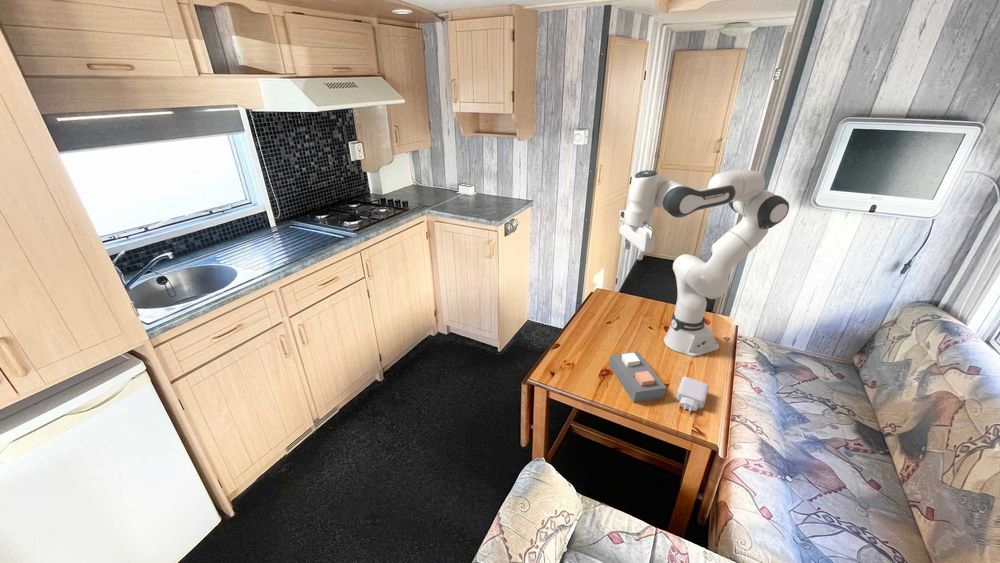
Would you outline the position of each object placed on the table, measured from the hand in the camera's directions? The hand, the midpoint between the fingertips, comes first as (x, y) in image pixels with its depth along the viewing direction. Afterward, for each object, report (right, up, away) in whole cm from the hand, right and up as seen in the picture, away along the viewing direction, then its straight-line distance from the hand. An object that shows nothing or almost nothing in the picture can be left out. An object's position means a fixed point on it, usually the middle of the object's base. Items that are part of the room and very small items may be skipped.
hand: (632, 253), depth 148 cm
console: (+3, -49, +7) cm, 49 cm away
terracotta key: (+4, -48, 0) cm, 48 cm away
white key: (+2, -42, +10) cm, 44 cm away
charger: (+20, -54, -3) cm, 58 cm away
